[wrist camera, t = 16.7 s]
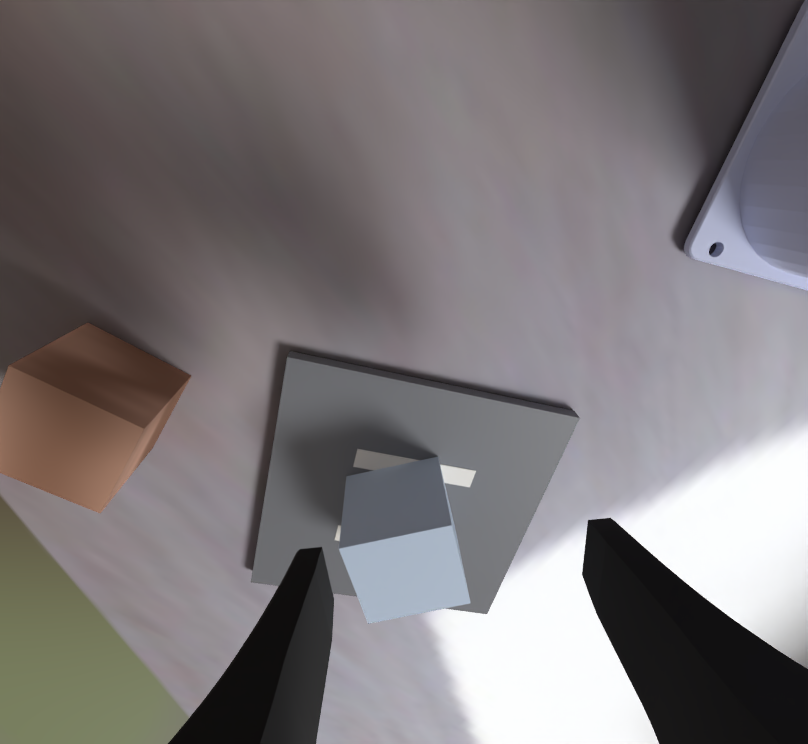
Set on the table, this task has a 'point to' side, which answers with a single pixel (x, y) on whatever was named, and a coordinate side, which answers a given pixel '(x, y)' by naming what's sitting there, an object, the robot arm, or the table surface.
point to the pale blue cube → (401, 541)
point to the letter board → (398, 444)
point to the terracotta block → (84, 414)
